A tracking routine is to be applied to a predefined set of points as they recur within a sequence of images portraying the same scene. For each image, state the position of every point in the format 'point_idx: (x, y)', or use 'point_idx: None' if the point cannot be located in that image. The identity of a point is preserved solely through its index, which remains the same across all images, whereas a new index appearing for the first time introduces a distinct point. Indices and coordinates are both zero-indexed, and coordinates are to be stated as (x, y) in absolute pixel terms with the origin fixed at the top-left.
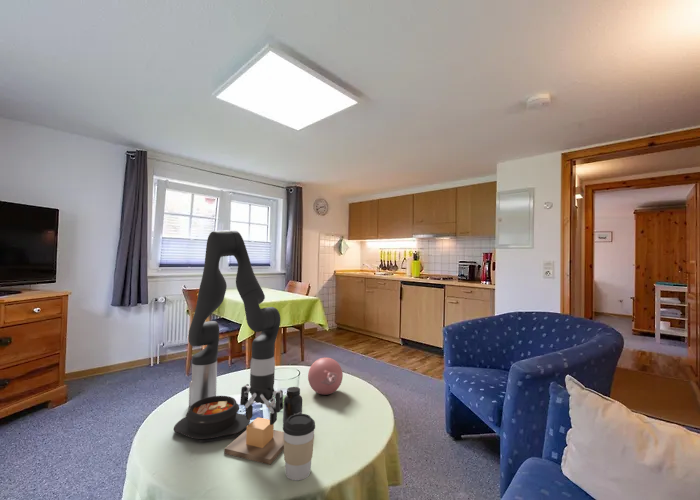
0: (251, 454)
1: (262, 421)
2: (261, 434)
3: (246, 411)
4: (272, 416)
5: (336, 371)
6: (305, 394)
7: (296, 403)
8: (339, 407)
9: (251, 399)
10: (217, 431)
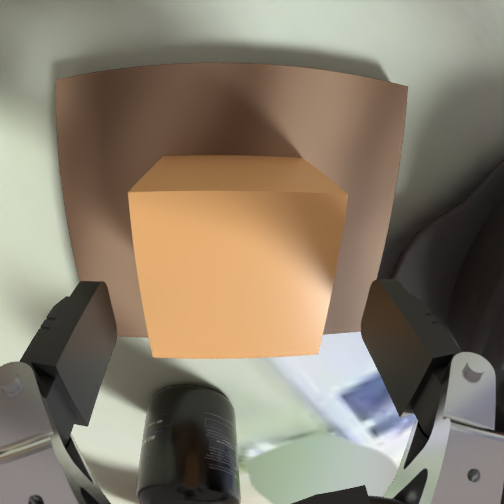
0: (196, 67)
1: (236, 318)
2: (159, 178)
3: (437, 331)
4: (52, 342)
5: None
6: (252, 495)
7: (142, 487)
8: (107, 473)
9: (468, 501)
10: (497, 210)
